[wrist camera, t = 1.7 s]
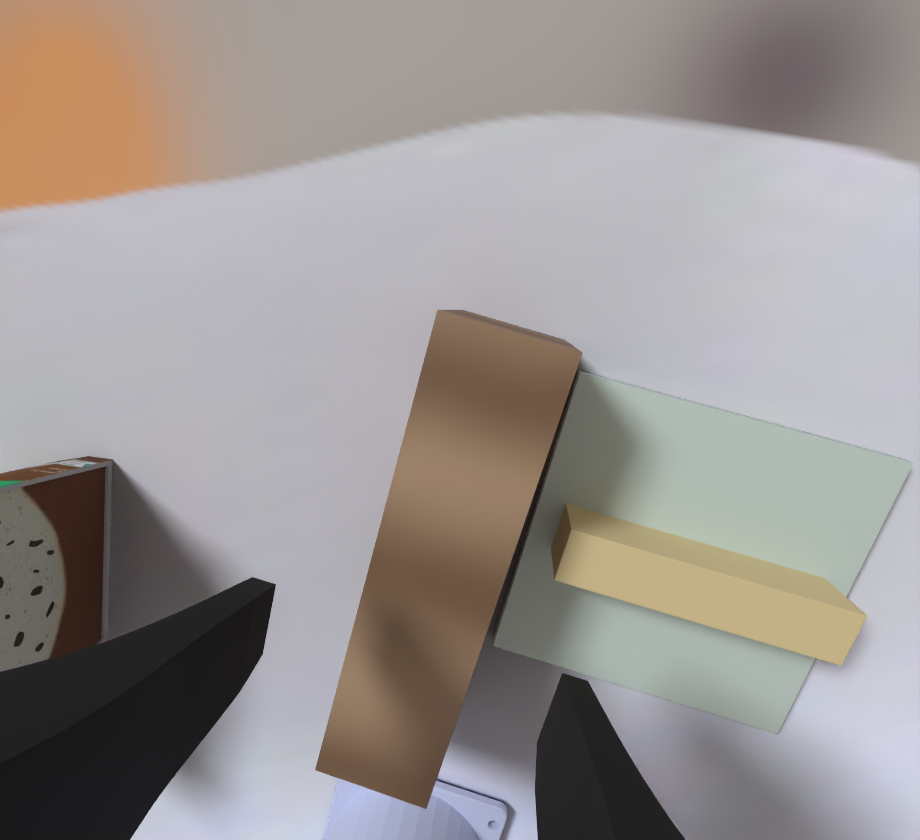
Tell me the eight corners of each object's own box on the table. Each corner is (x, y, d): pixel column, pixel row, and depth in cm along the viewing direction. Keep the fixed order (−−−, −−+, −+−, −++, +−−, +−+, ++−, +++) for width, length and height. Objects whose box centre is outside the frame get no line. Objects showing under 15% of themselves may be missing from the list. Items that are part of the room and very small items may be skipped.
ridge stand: (770, 722, 21) (809, 787, 18) (493, 637, 22) (489, 687, 19) (900, 458, 18) (972, 486, 15) (578, 370, 19) (588, 381, 16)
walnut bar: (451, 682, 23) (426, 809, 17) (367, 654, 23) (315, 770, 17) (564, 339, 19) (582, 352, 13) (463, 309, 19) (437, 309, 13)
